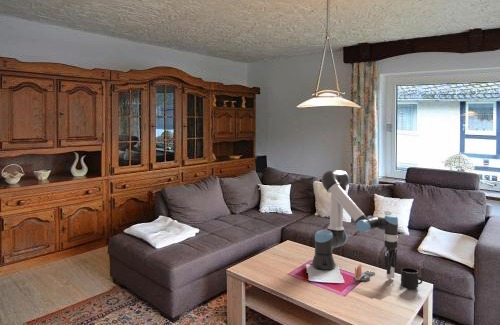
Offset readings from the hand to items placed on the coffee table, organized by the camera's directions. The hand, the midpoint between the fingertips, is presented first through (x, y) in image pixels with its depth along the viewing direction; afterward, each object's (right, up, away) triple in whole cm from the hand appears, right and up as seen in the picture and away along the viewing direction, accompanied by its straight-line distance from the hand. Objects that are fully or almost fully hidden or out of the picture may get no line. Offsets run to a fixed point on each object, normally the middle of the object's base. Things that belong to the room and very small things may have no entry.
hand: (390, 278), depth 216 cm
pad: (-11, -1, +11) cm, 16 cm away
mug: (+9, -2, -10) cm, 13 cm away
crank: (-19, +1, -1) cm, 19 cm away
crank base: (-18, -1, +1) cm, 18 cm away
